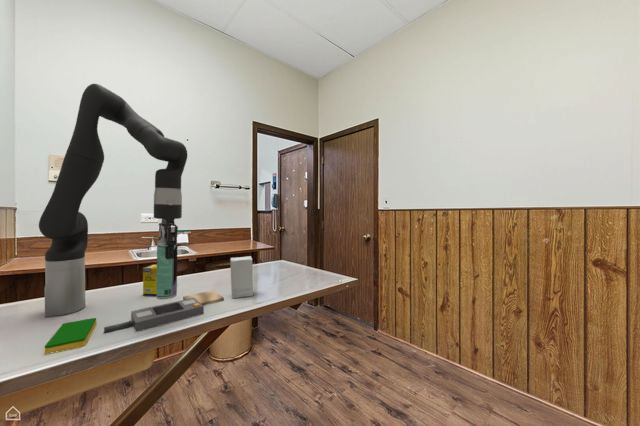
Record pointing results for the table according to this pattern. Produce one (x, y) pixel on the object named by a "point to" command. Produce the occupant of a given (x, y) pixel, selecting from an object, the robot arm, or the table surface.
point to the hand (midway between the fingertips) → (167, 256)
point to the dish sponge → (71, 335)
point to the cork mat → (206, 297)
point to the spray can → (166, 272)
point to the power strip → (150, 318)
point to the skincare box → (241, 277)
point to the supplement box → (150, 280)
